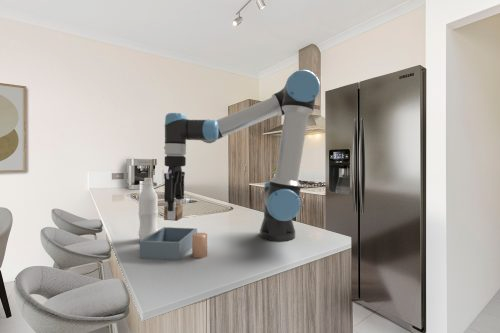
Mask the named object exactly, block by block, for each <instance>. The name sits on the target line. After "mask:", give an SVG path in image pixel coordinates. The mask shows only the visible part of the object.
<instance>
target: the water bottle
mask: <svg viewBox="0 0 500 333" xmlns="http://www.w3.org/2000/svg"><path fill="white" fill-rule="evenodd" d="M143 179H144V180H143V188H142V189H141V191H140V194H139V195H138V217H139V218H138V219H139V230H138V238H139V241H141V240H143V239H144V238H146V237H148V236H149V235H151V234H153V233H155V232H156V231H158V230H159V229H158V215H159V210H158V205H159V204H158V201H159V198H158V197H159V196H158V194H157V192H156V190H155V188H154V186H153V184H154V182H153V177H144V178H143Z"/></svg>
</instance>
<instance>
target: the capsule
mask: <svg viewBox="0 0 500 333" xmlns="http://www.w3.org/2000/svg"><path fill="white" fill-rule="evenodd" d="M191 252H192V253H191V256H192V258H193V257H194V258H193V259H204V258H206V257H207V256H208V234H207V233H206V232H197V233H195V234H193V235H192V248H191Z"/></svg>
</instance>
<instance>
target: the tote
mask: <svg viewBox="0 0 500 333" xmlns="http://www.w3.org/2000/svg"><path fill="white" fill-rule="evenodd" d="M195 233H198V228H194V227H172V226H171V227H170V226H169V227H167V226H166V227H165V226H164V227H162V228H160V229H158V231H156V232H155V233H153V234H151V235H149V236H148V237H146V238H144V239H143V240H139V241H138V242H139V243H138V244H139V247H138V248H139V249H138V250H139V253H138V254H139V258H140V259H153V260H168V259H169V261H170V260H171V261H174V260H175V261H180V260H182V258H183V257H184V256H185V255H186V254H187V253H188V252H189V251H190V250H192V235H193V234H195Z"/></svg>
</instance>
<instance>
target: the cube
mask: <svg viewBox="0 0 500 333" xmlns="http://www.w3.org/2000/svg"><path fill="white" fill-rule="evenodd" d="M183 205H184V204H182V205H178V204H176V209H175V220H172V221H175V222H178V221H180V219H183V210H184V209H183V207H184V206H183ZM163 207H164V208H163V209H164V210H163V211H164V212H163V220H164V221H168V220H167V210H168V204H167V205H164V206H163Z"/></svg>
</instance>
